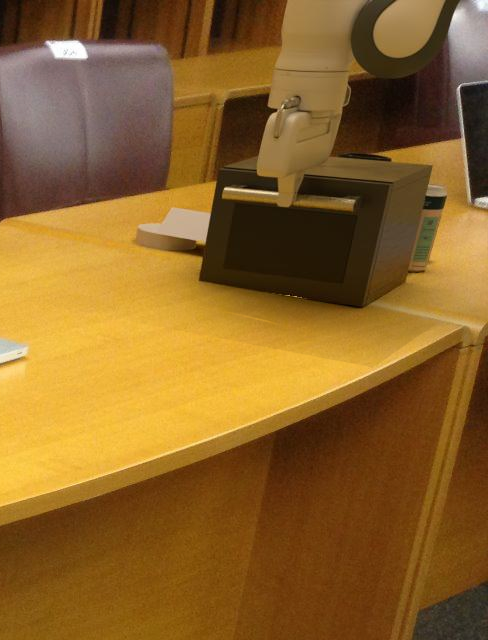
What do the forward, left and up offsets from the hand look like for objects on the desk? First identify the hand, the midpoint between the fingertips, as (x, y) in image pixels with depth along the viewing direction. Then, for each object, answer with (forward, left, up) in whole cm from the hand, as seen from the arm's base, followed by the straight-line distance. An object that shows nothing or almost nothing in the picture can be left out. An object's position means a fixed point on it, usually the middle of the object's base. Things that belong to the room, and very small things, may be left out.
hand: (285, 205), depth 201 cm
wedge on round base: (+22, -26, -13) cm, 37 cm away
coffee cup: (+2, -41, -13) cm, 43 cm away
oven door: (0, -4, -13) cm, 13 cm away
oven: (0, -17, -13) cm, 22 cm away
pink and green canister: (-9, -36, -13) cm, 40 cm away
